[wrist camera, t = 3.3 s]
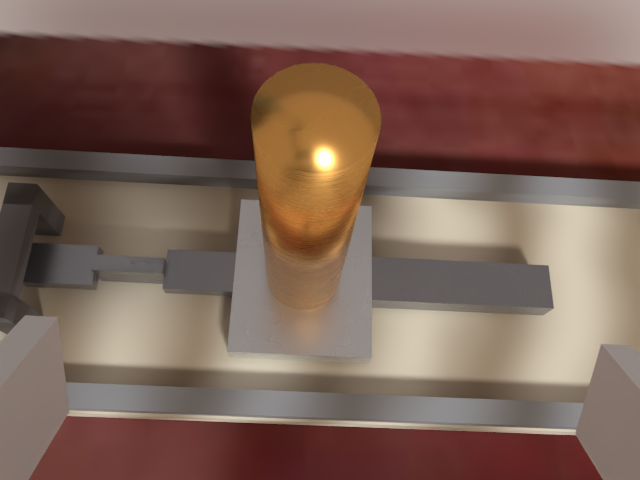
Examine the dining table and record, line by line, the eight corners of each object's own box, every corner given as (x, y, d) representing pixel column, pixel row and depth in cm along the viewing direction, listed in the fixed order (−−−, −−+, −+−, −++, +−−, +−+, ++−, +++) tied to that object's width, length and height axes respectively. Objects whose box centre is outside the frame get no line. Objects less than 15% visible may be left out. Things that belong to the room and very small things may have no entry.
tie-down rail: (-237, 404, 25) (-355, 387, 20) (-143, 162, 30) (-222, 103, 25) (857, 445, 27) (976, 438, 22) (785, 211, 31) (871, 165, 27)
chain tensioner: (-202, 339, 24) (-694, 198, 12) (-145, 190, 27) (-502, -48, 15) (549, 370, 25) (791, 271, 13) (532, 225, 28) (719, 31, 16)
